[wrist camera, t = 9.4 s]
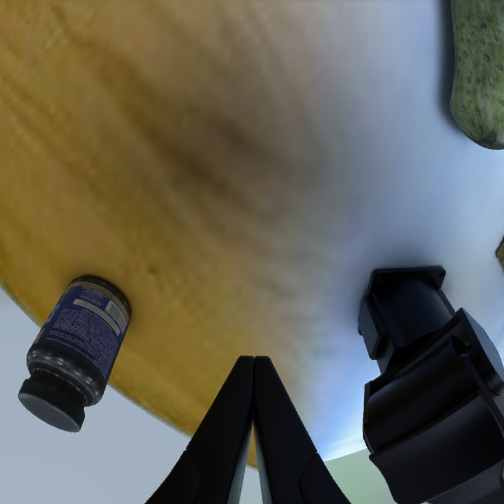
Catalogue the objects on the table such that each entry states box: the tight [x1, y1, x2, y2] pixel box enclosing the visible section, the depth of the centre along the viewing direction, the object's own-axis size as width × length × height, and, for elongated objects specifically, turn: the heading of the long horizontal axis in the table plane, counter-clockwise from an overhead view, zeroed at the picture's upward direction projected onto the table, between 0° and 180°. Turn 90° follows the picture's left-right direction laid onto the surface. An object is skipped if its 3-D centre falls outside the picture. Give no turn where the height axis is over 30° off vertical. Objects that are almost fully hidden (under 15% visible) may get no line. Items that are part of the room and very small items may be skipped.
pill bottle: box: [18, 277, 130, 432], centre depth 19 cm, size 6×6×11 cm
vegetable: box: [450, 0, 504, 150], centre depth 10 cm, size 14×5×5 cm
